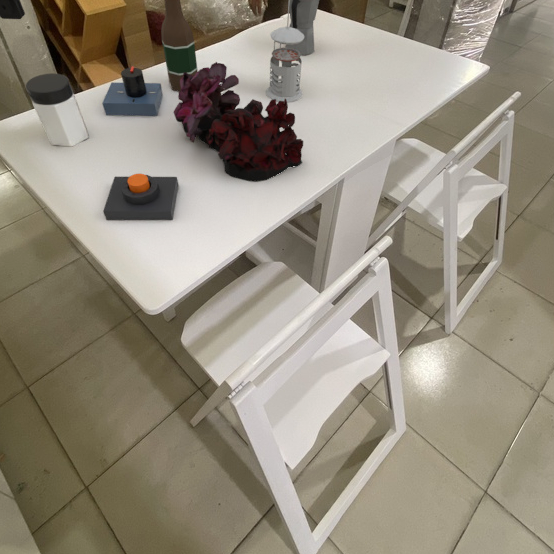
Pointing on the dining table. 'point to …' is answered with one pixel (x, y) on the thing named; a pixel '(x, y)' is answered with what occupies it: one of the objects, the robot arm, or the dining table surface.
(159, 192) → the switch block
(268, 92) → the french press
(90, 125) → the dining table surface
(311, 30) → the coffeepot
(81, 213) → the dining table surface
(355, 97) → the dining table surface
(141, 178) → the button
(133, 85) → the temp dial
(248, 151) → the flower arrangement
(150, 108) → the dial base
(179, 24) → the beer bottle
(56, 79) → the jar
